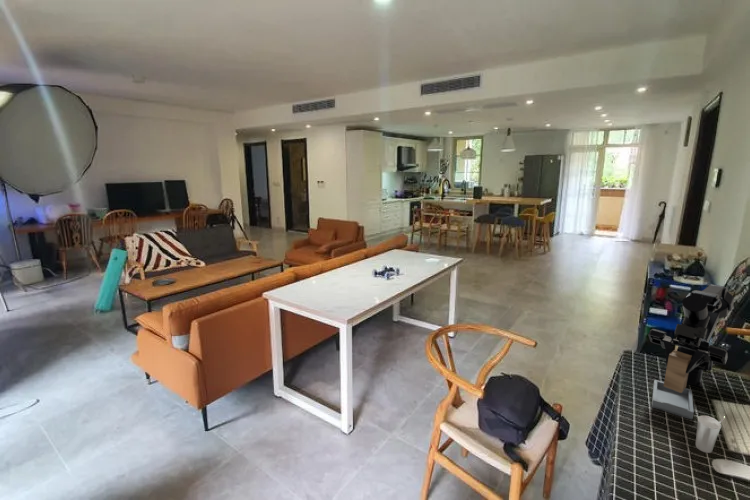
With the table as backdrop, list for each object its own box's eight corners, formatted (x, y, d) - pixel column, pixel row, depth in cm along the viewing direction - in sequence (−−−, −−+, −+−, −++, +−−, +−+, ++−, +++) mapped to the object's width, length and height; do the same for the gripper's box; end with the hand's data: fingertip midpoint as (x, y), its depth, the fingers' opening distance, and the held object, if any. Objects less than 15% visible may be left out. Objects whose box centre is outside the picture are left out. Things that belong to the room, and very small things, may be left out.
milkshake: (723, 456, 94) (731, 423, 92) (699, 453, 95) (706, 420, 93) (711, 443, 98) (718, 411, 96) (688, 441, 99) (695, 409, 97)
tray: (653, 386, 124) (654, 379, 123) (690, 396, 118) (691, 389, 118) (651, 407, 113) (653, 400, 113) (692, 419, 108) (693, 412, 107)
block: (668, 381, 117) (673, 349, 115) (685, 387, 114) (692, 355, 111) (663, 386, 115) (669, 354, 112) (681, 393, 111) (687, 360, 109)
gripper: (654, 305, 118) (637, 346, 115) (733, 324, 104) (715, 372, 100) (659, 321, 125) (642, 361, 121) (733, 341, 110) (717, 387, 106)
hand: (676, 369), depth 112 cm, fingers closed on block, 4 cm apart
